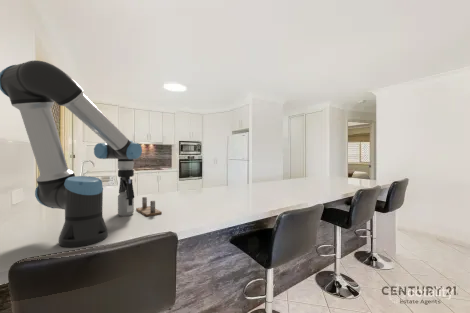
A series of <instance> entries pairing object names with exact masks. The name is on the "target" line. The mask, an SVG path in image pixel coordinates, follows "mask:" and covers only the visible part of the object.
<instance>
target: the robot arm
mask: <svg viewBox="0 0 470 313" xmlns="http://www.w3.org/2000/svg"><path fill="white" fill-rule="evenodd" d="M0 91H1V93H2V94H3V95H5V96H6V97H8V98H9V101H10V103H11V106H12V107H14V108H15V109H17V110H19V112H20V115H21V119H22V122H23V125H24V128H25V131H26V134H27V138H28V140H29V143H30V146H31V149H32V150H31V151H32V153H33V156H34V159H35V162H36V165H37V169H38V171H39V175H38V177H36V184H37V186H36V188H35V191H34V197H35V199H36V201H37V202H38V203H39V204H40V205H42V206H44V207H47V208H51V209H60V210H64V223H63V226H62V228H61V232H60V234H59V236H58V246H60V247H62V248H79V247H85V246H88V245H92V244H96V243H99V242H101V241H103V240H105V239H106V238H108V236H109V234H108V233H109V232H108V231H109V230H108V226H107V225H106V224H107V223H105V219H104V217H103V216H104V215H103V205H104V204H103V197H104V196H103V195H104V194H103V193H104V192H103V190H104V186H103V182H102V180H101V178H99V177H95V176H87V175H86V176H85V175H75V171H74V170H72V169H69V167H68V165H67V164H68V163H67V160H66V157H65V153H64V150H63V147H62V143H61V139H60V136H59V133H58V129H57V125H56V122H55V118H54V114H53V111H52V107H53V106H54V104H55V103H56V104H57V105H59V106H60V107H65V108H66V109H67V110H68V111H69V112H70V113H72V114H73V115H74V116H75V117H77V118H78V119H79V120H80V121H81V122H82V123H83V124H84V125H85V126H87V127H88V128H89V129H90V130H91V131H93V133H94V134H96V135H97V136H98V137H99V138H100V139H102V141H104V142H98V143H97V144H95V146H94V148H93V154H94V156H95V157H96V159H101V160H108V159H109V160H110V159H111V160H112V159H114V160H117V177H118V178H119V189H118V193H121V192H126V194H127V198H126V200H127V212H131V211H133V198H134V199H135V192H134V186H133V179H131V177H134V175H135V174H134V172H135V171H134V168H135V167H134V165H135V164H136V163H135V162H134V161H135V160H136V159H139V158H140V157H141V156H142V154H143V153H142V152H143V148H142V146H141V144H139V143H137V142H133V140H129V139H128V138H127V136H126V135H125V134H123V132H122V131H121V130H120V129H119V128H118V127H117V126H115V124H114V123H113V122H112V121H111V120H110V119H109V118H108V117H107V116H106V115H105V114H104V113H103V112H102V111H101V110H100V109H99V108H98V107H97V106H96V105H95V104H94V103H93V101H91V100H90V99H89V98H88V96H86V95H85V94H84V89H83V88H82V87H81V86H80V85H79V83H77V81H75V79H73V78H72V77H71V76H70V75H68V74H67V73H66V72H65V71H63V69H61V68H59V67H57V66H55V65H54V64H52V63H49V62H46V61H43V60H29V61H25V62H22V63H19V64H12V65H9V66H7V67H6V68H4V69H2V70H1V71H0Z"/></svg>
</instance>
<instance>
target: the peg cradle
mask: <svg viewBox="0 0 470 313" xmlns="http://www.w3.org/2000/svg"><path fill="white" fill-rule="evenodd" d="M141 198H142V199H141V202H142V203H141V204H142V207H136V209H135V210H136V212H138V213H140V214H142V215H143V216H144V217H146V218H147V217H152V216H157V215H158V216H159V215H162V211H161V210H159V209H157V208H156V200H150V205H148V203H147V202H148V197H146V196H143V197H141Z"/></svg>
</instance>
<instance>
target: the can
mask: <svg viewBox="0 0 470 313" xmlns="http://www.w3.org/2000/svg"><path fill="white" fill-rule="evenodd" d="M118 193H119V192H118ZM126 198H127V194H126V192H121V193H119V194H118V196H117V215H118V216H119V217H128V216H131V215H133V214H134V211H135V210H134V209H135V208H134V207H135V204H134V202H135V200H134V199H135V197H134V198H133V211H131V212H127V200H126Z"/></svg>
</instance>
